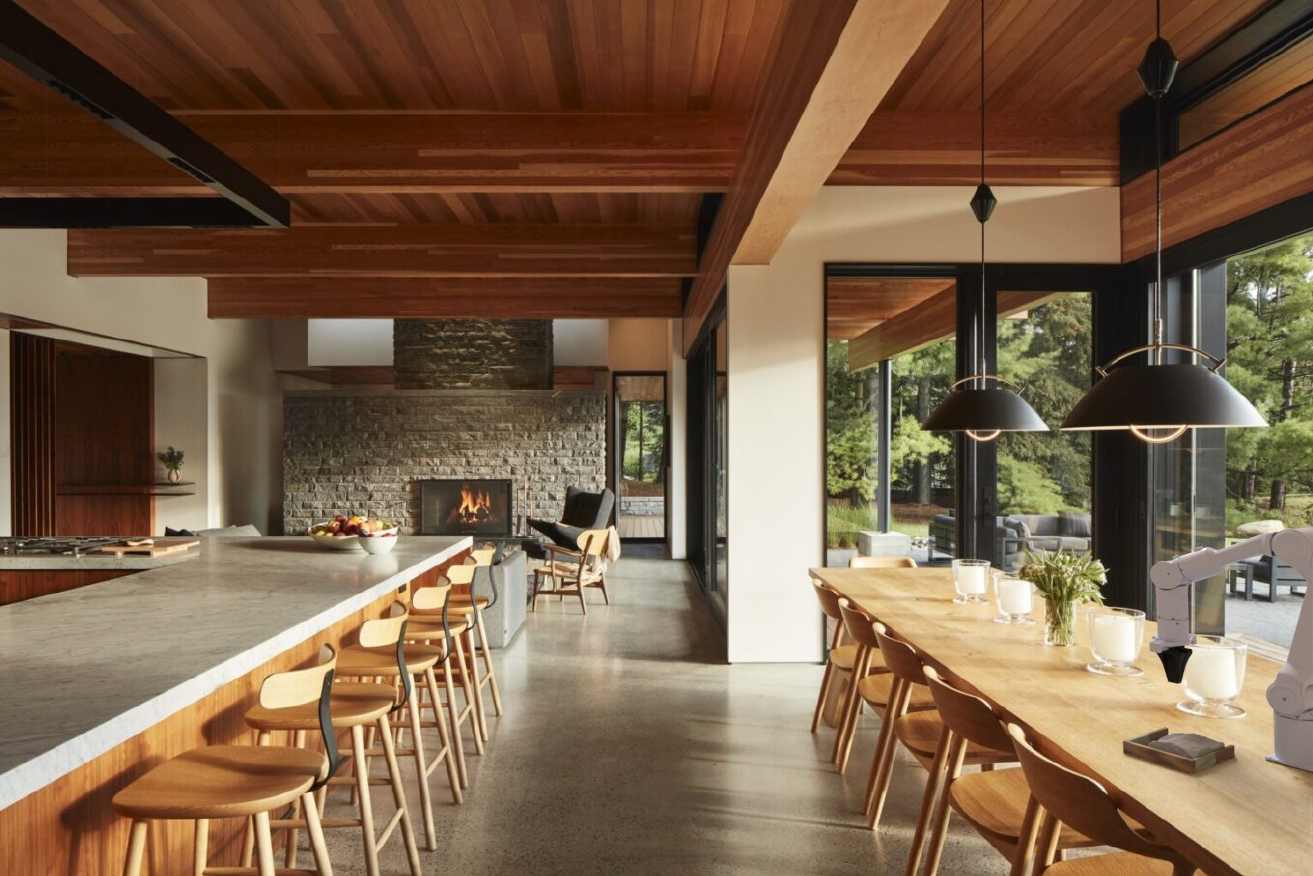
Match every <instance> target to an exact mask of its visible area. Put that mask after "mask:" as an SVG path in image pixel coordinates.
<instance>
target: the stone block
mask: <svg viewBox="0 0 1313 876" xmlns="http://www.w3.org/2000/svg"><path fill="white" fill-rule="evenodd" d="M1148 747H1152V748H1155V749H1158V750H1162V751H1165V752H1169V753H1172V754H1176V755H1179V756H1183V757H1186V758H1190V759H1194V758H1196V757H1199V756H1202V755H1204V754H1207V753H1210V752H1213V751H1215V750H1218V749H1221V748H1223V747H1226V746H1225V743H1224V741H1218V740H1216V739H1213V738H1210V737H1208V736H1205V735H1201V734H1198V733H1197V734H1196V733H1183V732H1182V733H1180V732H1178V733H1175V732H1174V733H1169V735H1166V736H1164V737H1162V738H1160V739H1159V740H1158V741H1152V742H1149V746H1148Z"/></svg>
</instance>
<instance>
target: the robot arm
mask: <svg viewBox="0 0 1313 876" xmlns="http://www.w3.org/2000/svg"><path fill="white" fill-rule="evenodd" d="M1261 555H1264V556H1267V557H1271V558H1273V557H1277V558H1278V559H1279V560H1280V561H1282V562H1283V563H1285V564H1286V565H1288V566H1290V567H1291V568H1293V569H1294V570H1295V571H1297V572H1298V573H1299V574H1300V575H1301V577H1302V578H1303V579H1304V580H1305V581H1306V583H1307V586H1306V590H1305V594H1304V597H1303V601H1302V605H1301V608H1300V612H1299V616H1298V619H1297V622H1296V626H1295V630H1294V633H1293V636H1292V641H1291V644H1290V647H1289V650H1288V655H1287V659H1286V662H1285V663H1284V664H1283V665H1282V666H1281V668H1280V670H1279V671H1278V672H1277V673H1276V675H1277V676H1276V678H1275V680H1273V682H1271V684H1269V685H1268V687H1267V688H1266V691H1265V697H1266V701H1267V703H1268V705H1269V706H1270V707H1271V709H1272V710H1273V712H1272V716H1273V743H1274V744H1273V745H1274V749H1273V750H1274V752H1272V753H1270V754H1267V755H1265V756H1264V759H1265V760H1267V761H1272V762H1275V763H1278V764H1279V763H1280V764H1282V765H1286V766H1290V767H1293V768H1298V769H1301V770H1304V771H1308V772H1311V773H1313V525H1312V526H1311V525H1309V526H1304V527H1299V528H1285V529H1284V528H1283V529H1281V530H1280V531H1278V530H1277V531H1274V532H1266V533H1262V534H1258V535H1255V536H1252V537H1250V538H1248V539H1245V540H1243V541H1240V542H1237V543H1234V544H1232V545H1228V546H1227V547H1223V548H1221V549H1215V548H1213V547H1207V546H1205V547H1204V546H1202V545H1201V546H1198V547H1193V551H1192V552H1189V553H1187V554H1183V555H1180V554H1176V555H1173V556H1172V560H1160V561H1158V562H1157V563H1155V564H1154V565H1152V566H1151V569H1150V571H1149V576H1150V577H1149V578H1150V580H1151V582H1152V583H1153V585H1155V592H1156V598H1155V599H1156V623H1157V624H1156V630H1157V631H1156V632H1157V634H1154V635H1152V636H1151V638H1152V641H1149V652H1153V653H1156V655H1157V656H1158V658H1159V660H1160V661H1161V664H1162V667H1163V669H1164V672H1165V677H1166V680H1167V682H1168V683H1172V684H1176V685H1177V684H1178V685H1179V684H1182V681H1183V678H1184V674H1185V671H1186V668H1187V663H1188V662H1189V660H1190V658H1191V656H1192V655H1193V652H1194V651H1193V649H1192V648H1189V647H1185V646H1189V645H1194V646H1195V645H1197V644H1198V643H1197V642H1198V640H1197V639H1198V637H1197V635H1196V634H1192V633H1190V619H1189V616H1190V615H1189V594H1188V593H1189V586H1190V585H1191V584H1193V583H1197V582H1199V581H1202V580H1205V579H1209V578H1212V577H1215V576H1219V575H1222V574H1223V573H1224V571H1225V570H1226V567H1227V565H1231V564H1234V563H1237V562H1241V561H1244V560H1248V559H1251V558H1255V557H1258V556H1261Z"/></svg>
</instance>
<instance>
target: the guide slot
mask: <svg viewBox="0 0 1313 876" xmlns="http://www.w3.org/2000/svg"><path fill="white" fill-rule="evenodd" d="M1166 735H1170V733H1169V727H1165V726H1164V727H1161V728H1158V729H1156V730H1152V731H1150V732H1147V733H1143V734H1140V735H1138V736H1134V737H1131V738H1127V739H1125V740H1123V741H1122V752H1123V753H1124V754H1127V755H1130V756H1135V757H1137V758H1140V759H1144V760H1147V761H1151V762H1154V763H1158V764H1161V765H1162V766H1163V765H1164V766H1168V767H1171V768H1173V769H1177V770H1181V771H1184V772H1187V773H1191V774H1195V773H1198V772H1201V771H1202V770H1205V769H1208V768H1210V767H1213V766H1215V765H1218V764H1221V763H1223V762H1227V761H1228V760H1231V759H1233V758H1235V757H1236V753H1235V752H1236V751H1235V745H1234V744H1229V745H1226V746H1225V747H1223V748H1221V749H1218V750H1215V751H1213V752H1210V753H1207V754H1204V755H1202V756H1199V757H1196V758H1194V759H1190V758H1186V757H1183V756H1179V755H1176V754H1172V753H1169V752H1165V751H1162V750H1158V749H1155V748H1152V747H1149V742H1152V741H1158V740H1159V739H1160V738H1162V737H1164V736H1166Z"/></svg>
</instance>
